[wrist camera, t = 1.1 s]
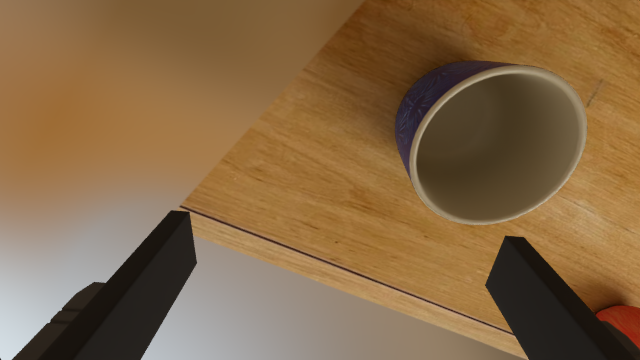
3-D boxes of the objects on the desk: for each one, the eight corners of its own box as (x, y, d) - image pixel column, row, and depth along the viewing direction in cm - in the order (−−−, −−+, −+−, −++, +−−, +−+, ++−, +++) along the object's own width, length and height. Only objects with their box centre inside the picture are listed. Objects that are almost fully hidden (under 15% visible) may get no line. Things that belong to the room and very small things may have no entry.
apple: (653, 298, 42) (720, 353, 35) (620, 337, 45) (675, 395, 38) (597, 290, 42) (652, 344, 34) (568, 330, 45) (613, 387, 38)
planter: (519, 143, 33) (598, 190, 23) (409, 187, 36) (438, 246, 26) (492, 29, 28) (575, 28, 19) (368, 90, 31) (384, 117, 21)
